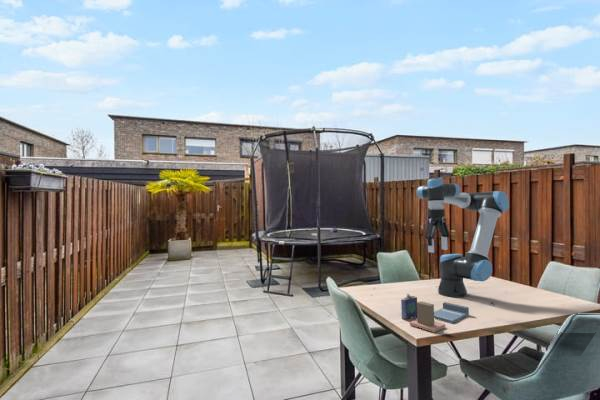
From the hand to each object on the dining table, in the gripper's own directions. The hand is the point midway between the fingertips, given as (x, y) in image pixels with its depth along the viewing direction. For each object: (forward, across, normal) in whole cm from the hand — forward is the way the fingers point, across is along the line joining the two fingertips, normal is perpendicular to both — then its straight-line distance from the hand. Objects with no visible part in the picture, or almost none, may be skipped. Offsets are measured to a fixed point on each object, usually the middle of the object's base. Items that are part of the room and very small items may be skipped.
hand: (438, 250), depth 153 cm
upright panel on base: (+29, -27, -8) cm, 40 cm away
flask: (+29, -23, +3) cm, 37 cm away
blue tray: (+29, -8, -8) cm, 31 cm away
